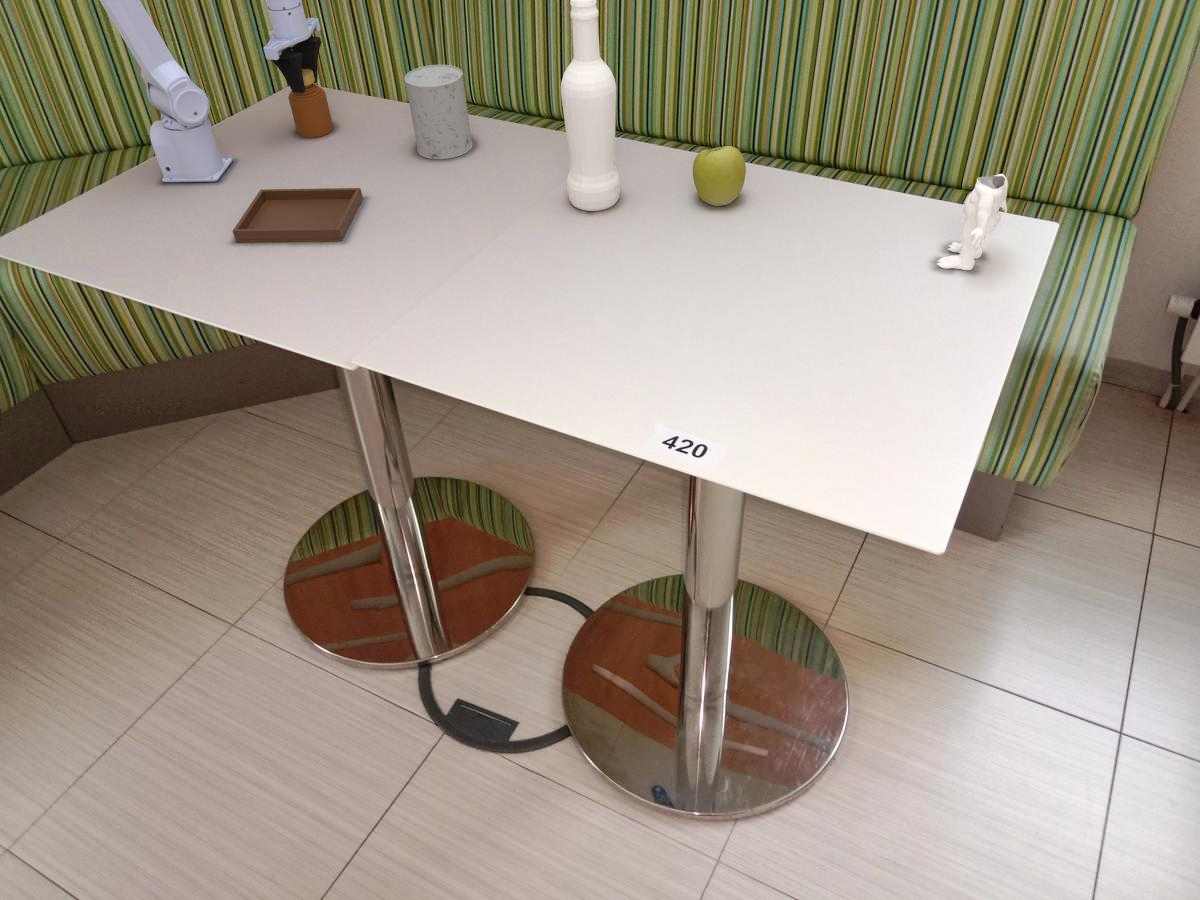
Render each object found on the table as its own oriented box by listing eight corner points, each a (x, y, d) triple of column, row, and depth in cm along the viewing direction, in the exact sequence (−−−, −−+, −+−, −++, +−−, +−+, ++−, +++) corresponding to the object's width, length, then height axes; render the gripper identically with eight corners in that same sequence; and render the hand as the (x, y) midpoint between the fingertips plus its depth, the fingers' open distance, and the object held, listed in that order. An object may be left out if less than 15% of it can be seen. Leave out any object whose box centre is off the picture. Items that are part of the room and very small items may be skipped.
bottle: (615, 214, 146) (607, 5, 126) (562, 211, 147) (546, 4, 127) (624, 189, 152) (618, -14, 132) (574, 186, 153) (561, -15, 133)
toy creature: (956, 236, 137) (974, 156, 129) (999, 246, 134) (1021, 165, 126) (927, 275, 130) (945, 193, 122) (972, 287, 127) (993, 204, 119)
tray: (236, 242, 145) (232, 231, 143) (263, 200, 155) (260, 189, 153) (341, 241, 144) (338, 229, 142) (363, 198, 153) (360, 187, 152)
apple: (754, 204, 144) (737, 143, 138) (702, 219, 146) (683, 160, 140) (751, 180, 150) (735, 120, 144) (702, 195, 152) (683, 137, 146)
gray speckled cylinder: (438, 164, 161) (426, 91, 153) (406, 147, 167) (392, 76, 159) (483, 146, 166) (474, 74, 158) (451, 130, 171) (440, 60, 163)
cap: (307, 76, 170) (305, 66, 169) (319, 81, 168) (317, 72, 167) (288, 82, 168) (285, 73, 167) (299, 88, 166) (297, 79, 165)
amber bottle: (294, 138, 172) (280, 85, 165) (301, 124, 176) (287, 71, 170) (330, 136, 172) (317, 82, 165) (336, 122, 176) (323, 69, 170)
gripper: (286, -10, 166) (306, 69, 175) (239, 18, 156) (262, 101, 165) (322, -8, 164) (340, 72, 173) (277, 21, 154) (299, 104, 163)
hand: (305, 86), depth 169 cm, fingers closed on cap, 4 cm apart
